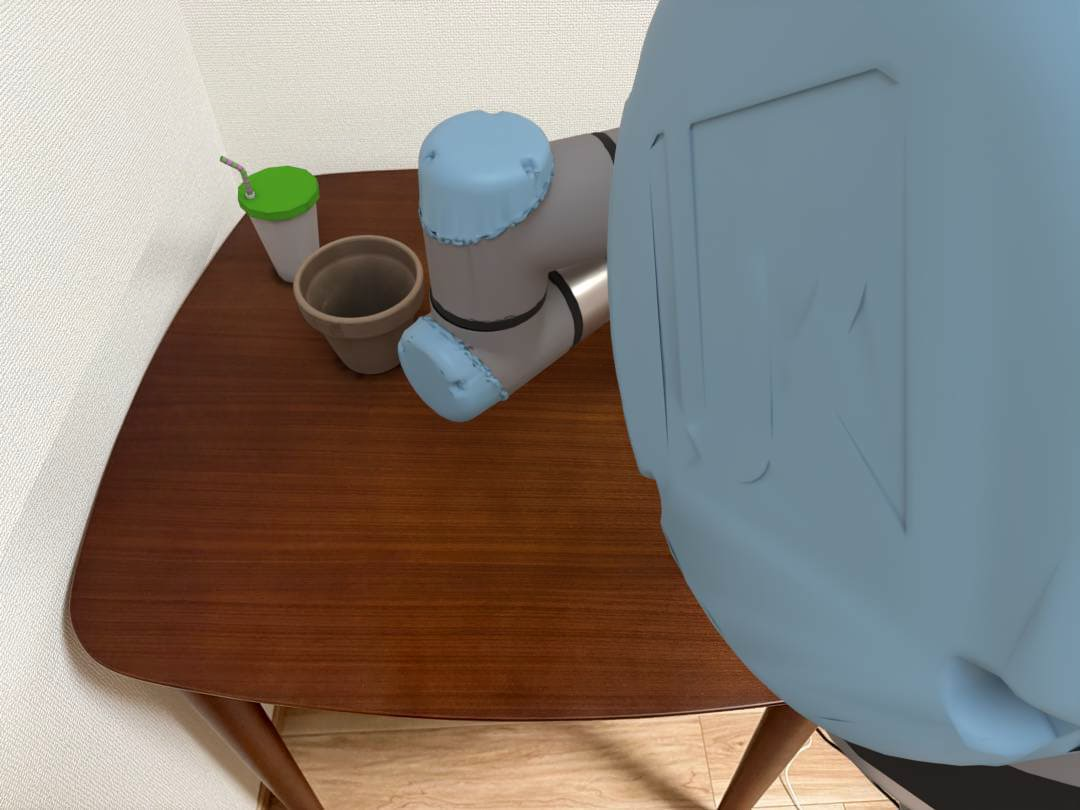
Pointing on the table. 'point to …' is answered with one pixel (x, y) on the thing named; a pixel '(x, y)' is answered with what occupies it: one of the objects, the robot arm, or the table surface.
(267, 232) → the cup
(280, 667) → the table surface
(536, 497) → the table surface
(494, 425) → the table surface
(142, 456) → the table surface
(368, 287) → the flower pot
